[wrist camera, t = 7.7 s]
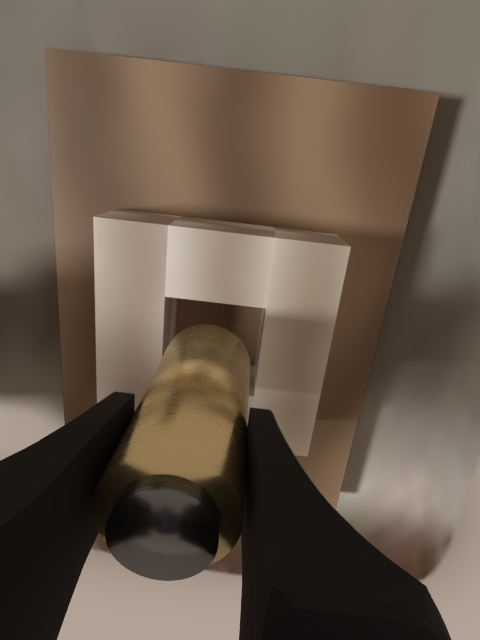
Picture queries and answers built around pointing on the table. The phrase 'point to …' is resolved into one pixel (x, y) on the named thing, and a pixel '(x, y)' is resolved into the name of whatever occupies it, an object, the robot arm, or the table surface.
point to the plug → (181, 461)
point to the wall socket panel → (230, 230)
